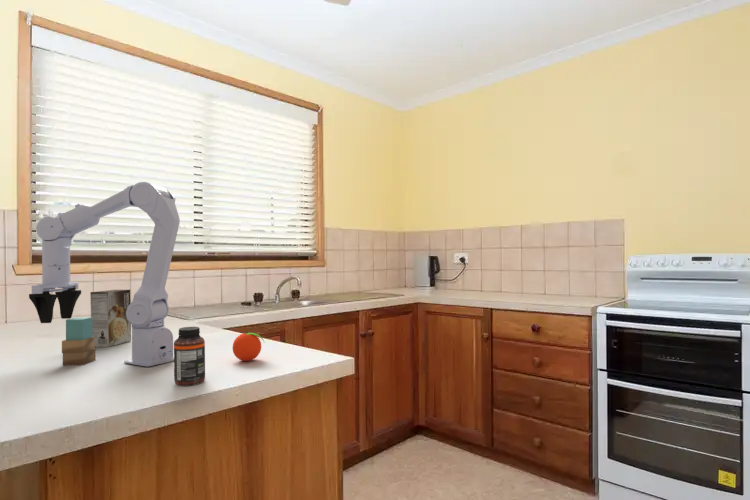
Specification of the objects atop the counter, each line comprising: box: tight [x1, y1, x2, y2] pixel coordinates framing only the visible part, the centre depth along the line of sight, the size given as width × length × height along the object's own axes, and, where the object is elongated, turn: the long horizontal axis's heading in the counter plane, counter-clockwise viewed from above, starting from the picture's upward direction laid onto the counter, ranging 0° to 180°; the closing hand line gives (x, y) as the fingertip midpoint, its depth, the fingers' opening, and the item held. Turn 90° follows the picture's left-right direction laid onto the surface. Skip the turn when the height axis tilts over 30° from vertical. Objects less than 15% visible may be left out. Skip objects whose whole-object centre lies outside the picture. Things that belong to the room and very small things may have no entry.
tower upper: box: [61, 337, 96, 354], centre depth 113 cm, size 5×5×3 cm
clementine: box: [232, 331, 265, 362], centre depth 113 cm, size 8×7×7 cm
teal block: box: [65, 316, 92, 340], centre depth 113 cm, size 4×4×5 cm
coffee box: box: [90, 289, 132, 348], centre depth 137 cm, size 9×6×16 cm
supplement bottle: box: [173, 326, 206, 387], centre depth 94 cm, size 6×6×11 cm
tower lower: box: [62, 348, 97, 366], centre depth 113 cm, size 5×5×3 cm
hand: (56, 320), depth 113 cm, fingers open, 7 cm apart
